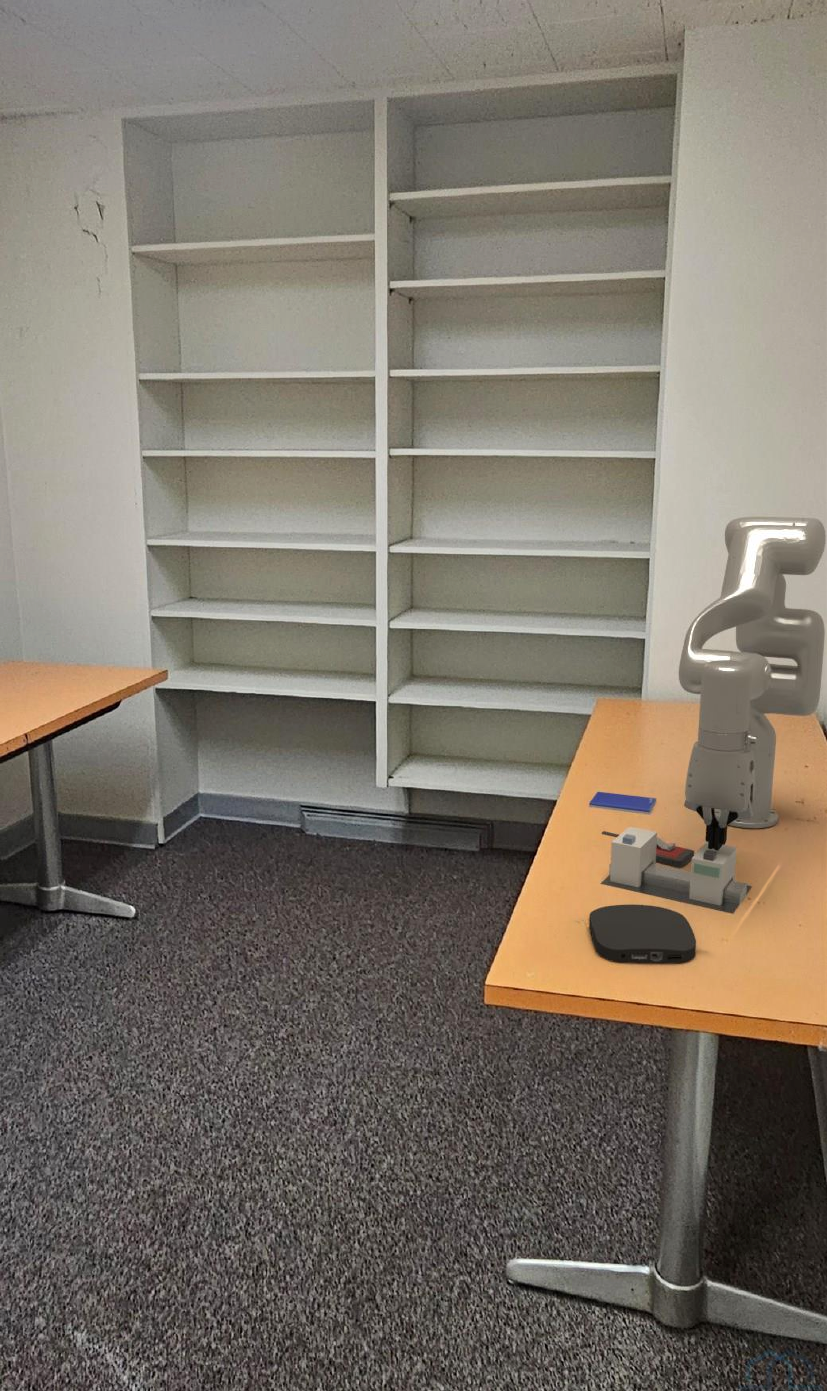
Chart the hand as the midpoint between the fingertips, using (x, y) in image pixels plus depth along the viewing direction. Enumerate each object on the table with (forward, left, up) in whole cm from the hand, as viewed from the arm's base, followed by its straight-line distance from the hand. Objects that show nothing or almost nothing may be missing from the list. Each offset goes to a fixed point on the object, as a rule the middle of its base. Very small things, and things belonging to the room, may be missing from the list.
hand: (715, 846), depth 164 cm
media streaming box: (+20, -5, -10) cm, 23 cm away
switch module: (0, 0, -8) cm, 8 cm away
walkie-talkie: (-12, -16, -10) cm, 22 cm away
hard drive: (-36, -29, -10) cm, 47 cm away
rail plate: (0, -6, -9) cm, 11 cm away
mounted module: (0, -13, -8) cm, 16 cm away
